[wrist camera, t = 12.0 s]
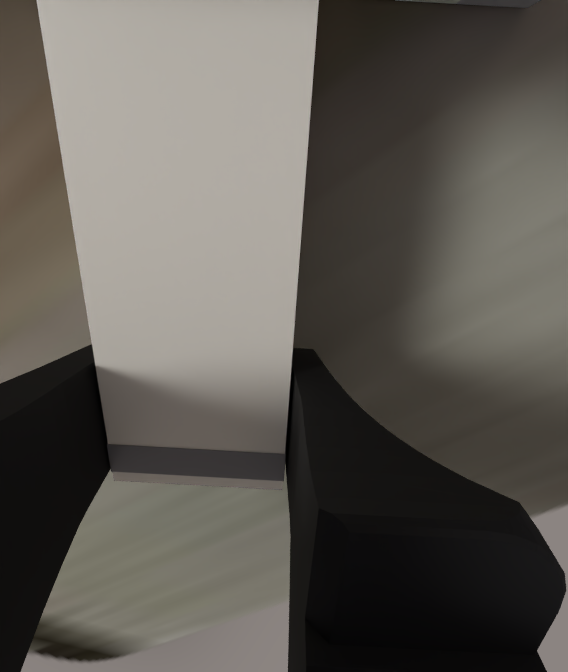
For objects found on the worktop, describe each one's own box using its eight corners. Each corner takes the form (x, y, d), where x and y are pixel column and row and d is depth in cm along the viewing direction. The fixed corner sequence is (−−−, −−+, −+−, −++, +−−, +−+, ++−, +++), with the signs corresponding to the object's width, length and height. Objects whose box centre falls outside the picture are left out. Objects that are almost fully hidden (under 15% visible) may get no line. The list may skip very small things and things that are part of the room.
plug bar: (312, 11, 9) (325, -66, 5) (285, 404, 13) (283, 490, 10) (121, -2, 9) (20, -86, 5) (156, 396, 13) (112, 481, 10)
